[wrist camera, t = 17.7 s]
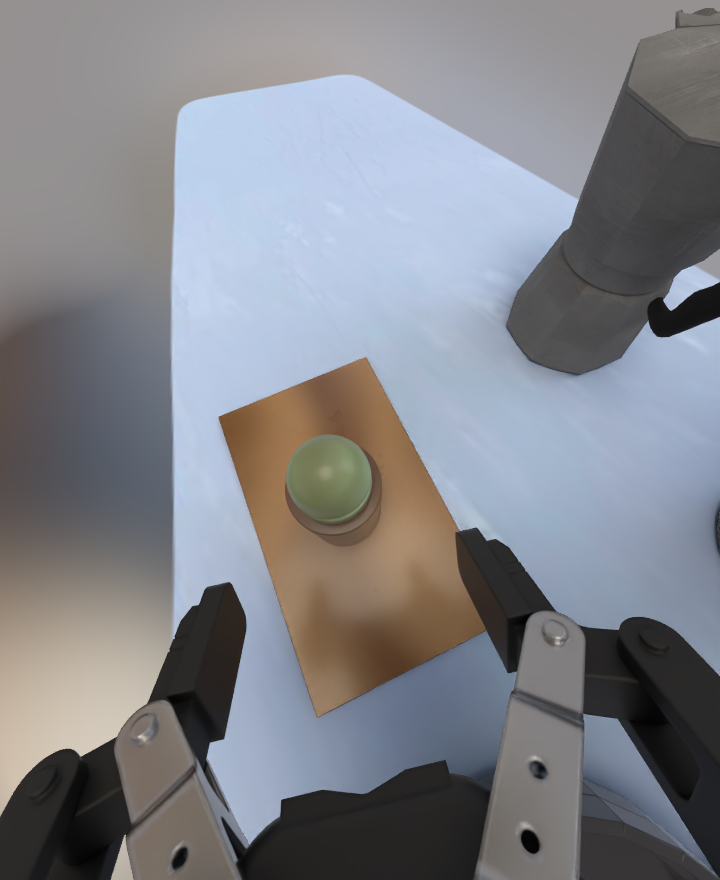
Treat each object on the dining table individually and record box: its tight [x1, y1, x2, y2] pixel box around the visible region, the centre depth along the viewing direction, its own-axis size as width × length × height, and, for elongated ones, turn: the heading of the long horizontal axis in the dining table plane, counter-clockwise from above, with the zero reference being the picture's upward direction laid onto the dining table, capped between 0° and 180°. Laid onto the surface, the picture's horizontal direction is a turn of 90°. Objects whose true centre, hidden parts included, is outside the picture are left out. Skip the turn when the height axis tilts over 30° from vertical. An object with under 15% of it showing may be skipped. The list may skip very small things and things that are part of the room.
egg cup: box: [285, 434, 382, 546], centre depth 19 cm, size 5×5×10 cm
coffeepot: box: [506, 8, 720, 375], centre depth 19 cm, size 15×9×18 cm, turn 0°
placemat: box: [219, 357, 486, 717], centre depth 24 cm, size 12×20×1 cm, turn 24°
